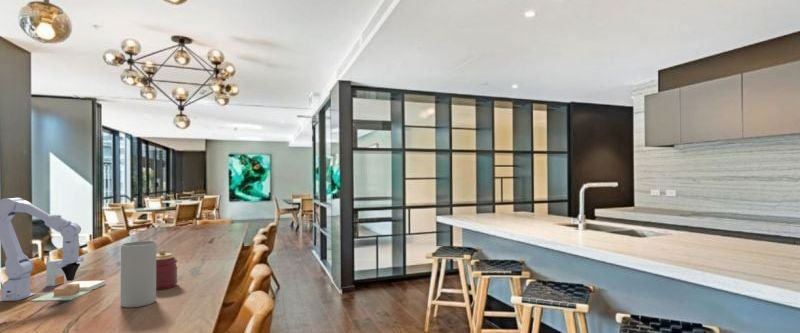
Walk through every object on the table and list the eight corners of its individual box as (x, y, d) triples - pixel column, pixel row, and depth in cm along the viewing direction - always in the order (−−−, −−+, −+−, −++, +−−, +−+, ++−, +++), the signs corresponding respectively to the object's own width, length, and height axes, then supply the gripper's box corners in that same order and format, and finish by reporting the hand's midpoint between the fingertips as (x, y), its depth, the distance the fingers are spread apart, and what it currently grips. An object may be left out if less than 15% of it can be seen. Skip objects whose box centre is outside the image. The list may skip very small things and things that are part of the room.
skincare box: (54, 286, 197) (54, 261, 197) (45, 286, 197) (46, 261, 197) (65, 282, 203) (65, 258, 203) (56, 282, 203) (56, 258, 203)
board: (88, 291, 187) (88, 287, 187) (56, 292, 186) (56, 288, 186) (105, 284, 199) (105, 280, 199) (75, 285, 198) (75, 281, 198)
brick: (71, 295, 180) (71, 288, 180) (53, 296, 179) (53, 289, 179) (79, 289, 186) (79, 283, 186) (62, 290, 185) (62, 284, 185)
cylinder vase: (138, 309, 162) (139, 246, 162) (112, 307, 164) (113, 245, 165) (163, 299, 174) (163, 241, 174) (138, 298, 176) (138, 240, 177)
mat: (70, 300, 174) (70, 299, 174) (30, 301, 173) (30, 300, 173) (91, 291, 187) (91, 290, 187) (54, 292, 186) (54, 291, 186)
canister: (183, 283, 201) (183, 247, 201) (165, 290, 188) (165, 252, 188) (158, 282, 202) (159, 247, 202) (139, 290, 189) (139, 252, 189)
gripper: (68, 253, 179) (67, 284, 178) (90, 247, 193) (90, 276, 193) (51, 253, 178) (50, 284, 178) (74, 247, 192) (74, 276, 192)
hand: (70, 280), depth 185 cm, fingers closed
